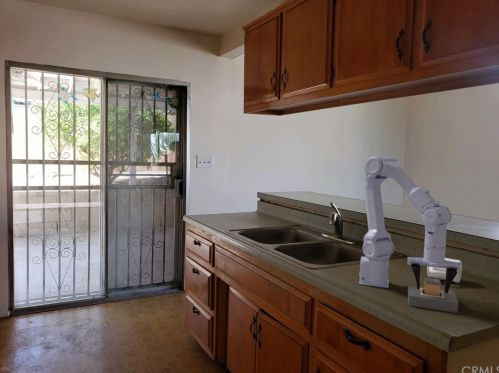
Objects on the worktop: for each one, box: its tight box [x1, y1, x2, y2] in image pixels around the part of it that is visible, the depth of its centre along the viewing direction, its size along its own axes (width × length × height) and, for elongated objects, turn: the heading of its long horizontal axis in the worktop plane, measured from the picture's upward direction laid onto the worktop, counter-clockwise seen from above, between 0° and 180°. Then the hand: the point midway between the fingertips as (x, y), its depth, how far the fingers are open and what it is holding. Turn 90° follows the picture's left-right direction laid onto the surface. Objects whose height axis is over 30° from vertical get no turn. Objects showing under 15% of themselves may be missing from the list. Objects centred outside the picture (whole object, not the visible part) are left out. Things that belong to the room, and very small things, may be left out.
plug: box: [423, 277, 442, 296], centre depth 116 cm, size 4×4×7 cm
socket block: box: [407, 284, 459, 314], centre depth 116 cm, size 13×11×3 cm
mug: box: [426, 257, 463, 284], centre depth 138 cm, size 12×10×8 cm
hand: (432, 290), depth 116 cm, fingers open, 7 cm apart
